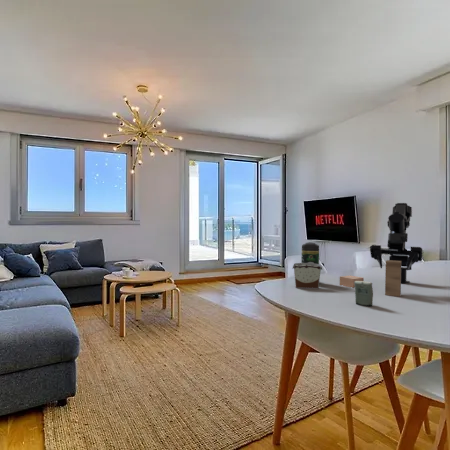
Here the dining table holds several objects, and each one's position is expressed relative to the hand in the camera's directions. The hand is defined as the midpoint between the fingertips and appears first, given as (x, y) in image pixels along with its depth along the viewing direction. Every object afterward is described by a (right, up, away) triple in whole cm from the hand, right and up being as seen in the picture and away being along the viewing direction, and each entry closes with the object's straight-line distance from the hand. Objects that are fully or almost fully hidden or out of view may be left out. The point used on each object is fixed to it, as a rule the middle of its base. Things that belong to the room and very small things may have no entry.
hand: (393, 268), depth 130 cm
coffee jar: (-28, -10, +21) cm, 36 cm away
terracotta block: (-11, -10, +16) cm, 21 cm away
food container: (-32, -10, +11) cm, 35 cm away
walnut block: (-1, -10, -2) cm, 10 cm away
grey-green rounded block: (-20, -10, -19) cm, 29 cm away
